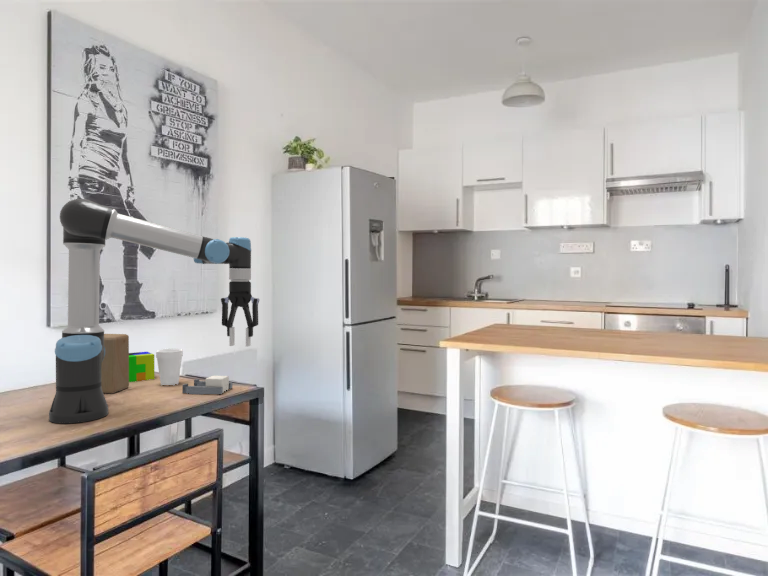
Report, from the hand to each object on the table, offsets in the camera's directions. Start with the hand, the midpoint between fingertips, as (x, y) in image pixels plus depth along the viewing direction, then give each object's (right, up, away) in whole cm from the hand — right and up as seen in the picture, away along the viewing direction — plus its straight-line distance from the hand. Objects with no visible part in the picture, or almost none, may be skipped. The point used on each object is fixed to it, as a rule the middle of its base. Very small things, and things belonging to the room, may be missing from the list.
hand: (240, 345), depth 186 cm
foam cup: (-30, -16, +13) cm, 37 cm away
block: (-9, -17, +1) cm, 19 cm away
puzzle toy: (-47, -16, +22) cm, 55 cm away
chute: (-12, -17, +2) cm, 21 cm away
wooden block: (-48, -17, +2) cm, 51 cm away
